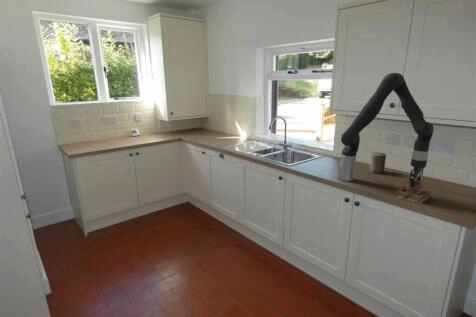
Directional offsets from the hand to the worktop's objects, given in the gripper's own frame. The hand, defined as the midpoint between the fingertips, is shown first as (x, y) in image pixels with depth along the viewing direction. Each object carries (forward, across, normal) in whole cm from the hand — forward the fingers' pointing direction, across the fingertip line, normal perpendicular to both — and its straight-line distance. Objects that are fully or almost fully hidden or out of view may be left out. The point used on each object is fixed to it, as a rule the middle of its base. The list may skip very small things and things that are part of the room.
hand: (414, 185), depth 165 cm
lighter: (+7, 0, 0) cm, 7 cm away
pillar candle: (+7, -31, -34) cm, 47 cm away
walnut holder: (+7, 0, 0) cm, 7 cm away
